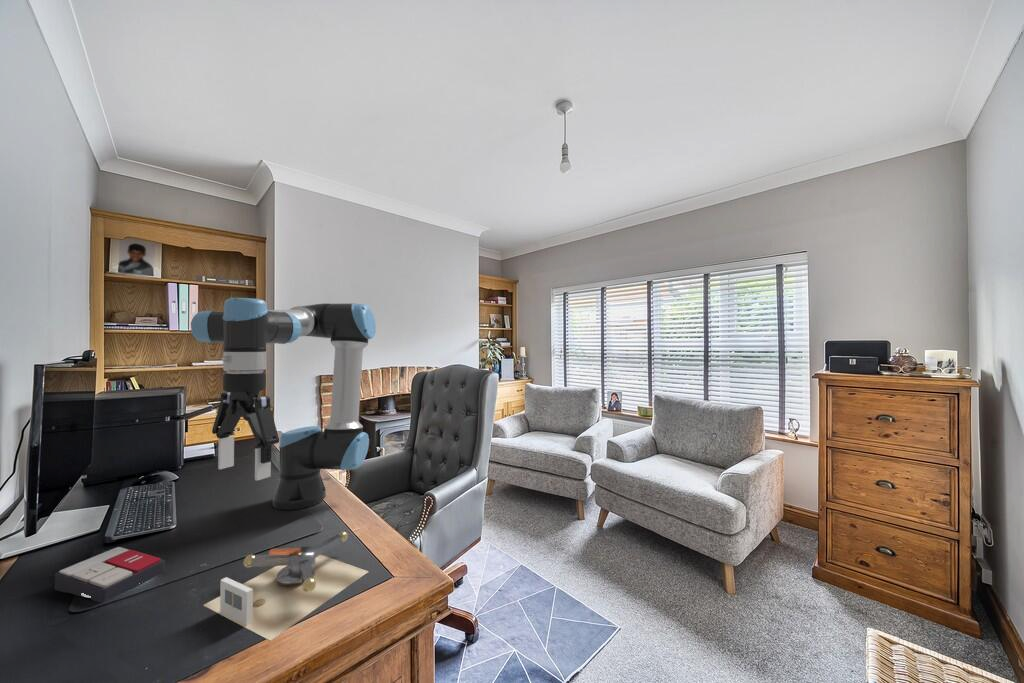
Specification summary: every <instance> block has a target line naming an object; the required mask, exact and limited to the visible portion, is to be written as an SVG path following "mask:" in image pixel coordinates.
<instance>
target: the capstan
mask: <svg viewBox="0 0 1024 683" xmlns="http://www.w3.org/2000/svg"><path fill="white" fill-rule="evenodd" d="M348 537H349V534H348V533H347V531H339V533H337V534H335V535H333V536H331V537H330V538H328V539H326V540H324V541H322V542H320V543H318V544H316V545H314V546H309V545H308V546H307V545H306V546H301V547H292V548H290V547H285V548H271V549H270V550H269V551H268V554H249V555H246V556H245V558H244V559H243V566H244V567H246V568H252V567H253V568H254V567H256V568H258V567H275V566H286V565H288V566H286V567H284V568H283V569H281V570H280V571H279V572H278V574H277V583H278V584H280V585H282V586H293V585H297V584H300V583H303V584H302V589H303V590H304V591H305V592H311V591H312V590H313V589H314V588H315V587H316V580H315V579H314V578H313V576H314V575H315V558H316V557H318V556H319V555H324V553H326V552H328V551H330V550H331V549H333V548H335V547H337V546H338V545H340V544H342V543H345V542H346V541H347V540H348Z"/></svg>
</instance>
